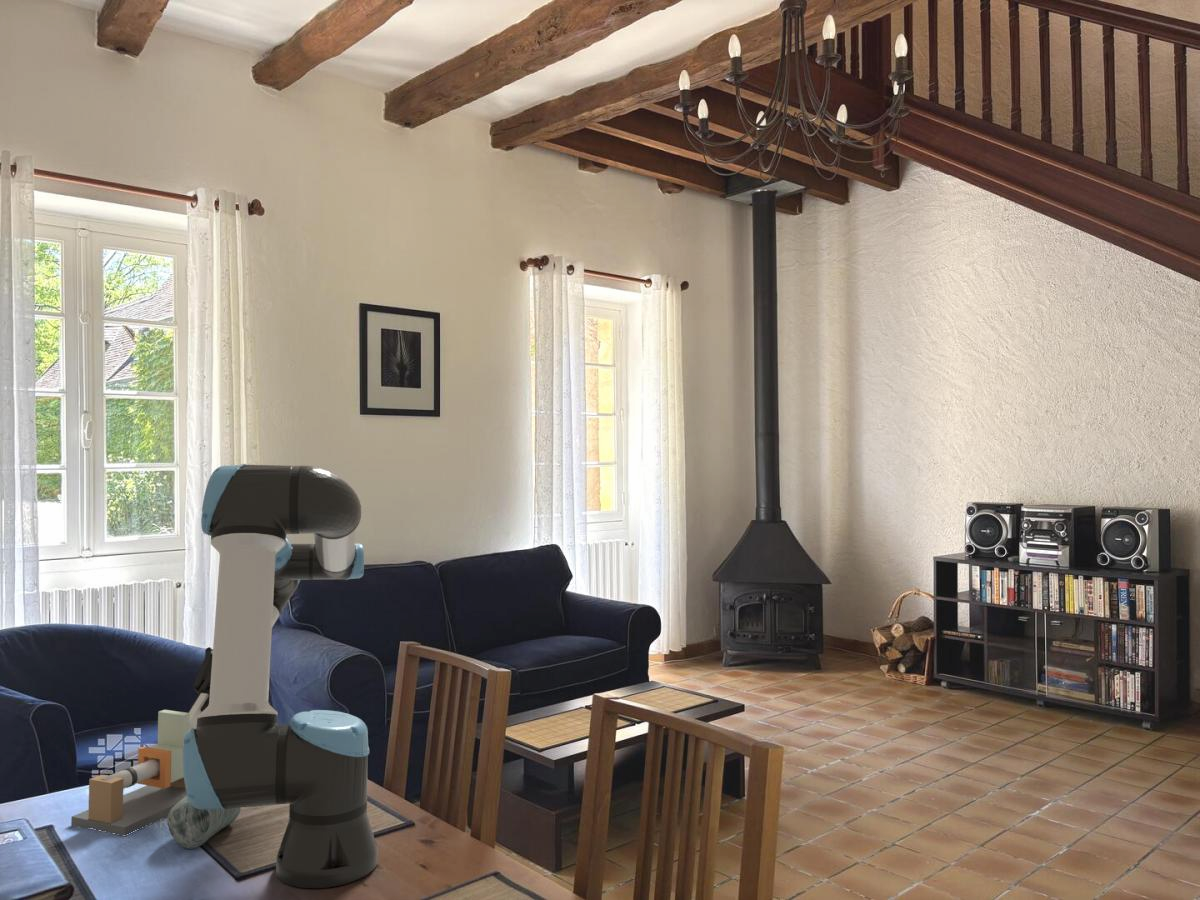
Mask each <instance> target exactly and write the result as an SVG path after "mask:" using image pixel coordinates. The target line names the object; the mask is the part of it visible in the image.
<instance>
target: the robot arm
mask: <svg viewBox="0 0 1200 900" xmlns="http://www.w3.org/2000/svg"><path fill="white" fill-rule="evenodd" d="M206 484H207V485H206V487H205V491H204V495H203V500H202V507H201V512H202V514H201V518H200V519H201V520H200V524H201V531H202V533H203V534H205V535H207V536H210V545H211V546H212V547H213V548H214V549H215V550H216V551H217V552H218V554H219V562H218V563H219V564H218V576H217V587H216V588H217V589H216V591H217V592H216V604H215V617H214V630H213V644H212V645H213V646H212V647H210V646H209V647H207V648H205V651H204V659H203V661H202V664H201V666H200V669H199V671H198V674H197V676H196V678H195V681H194V683H193V686H192V688H193V690H194V691H195V692H196V694H197V695H196V697H195V699H194V700H193V702H192V703H191V705H190V707H189V711H188V713H190V730H189V731H187V732H186V733H185V736H184V746H183V773H184V782H185V788H186V793H187V796H188V799H189V801H190V803H191V805H192V806H193V807H195V808H197V809H201V810H207V809H221V810H226V809H230V808H240V809H241V808H252V807H263V806H265V807H266V806H276V805H288V804H289V811H288V812H289V813H288V814H289V815H288V822H287V826H286V828H285V831H284V834H283V837H282V840H281V842H280V846H279V849H278V851H277V854H276V858H275V859H276V861H275V863H276V864H275V874H276V877H277V878H278V880H279V881H281V882H282V883H284V884H286V885H289V886H292V887H295V888H296V887H297V888H303V889H324V888H332V887H333V888H334V887H339V886H342V885H343V886H344V885H346V884H350V883H353V882H356V881H358V880H360V879H362V878H364V877H365V876H367V875H369V874H370V873H371V872H372V871H374V869H375V868H376V866H377V865H378V858H379V857H378V856H379V855H378V853H379V852H378V849H379V848H378V843H377V841H376V839H375V836H374V832H373V828H372V825H371V822H370V819H369V815H368V756H369V755H370V747H369V737H368V735H369V732H368V731H369V730H368V726H367V725H366V723H365V722H364V721H363V720H362V719H361V718H359V717H357V716H355V715H352V714H350V713H345V712H343V711H336V710H327V709H325V710H324V709H323V710H322V709H313V710H309V711H300V712H297V713H295V714H294V715H293V716H292V717H291V719H290V720H289V724H278V711H277V710H276V709H274V708H273V706H272V705H270V704H271V703H270V702H269V690H270V674H271V673H270V671H271V656H272V654H271V652H272V650H271V649H272V634H273V633H272V632H273V627H274V625H275V624H276V622H277V620H278V619H279V617H280V615H281V614H282V612H283V610H284V609H285V607H286V605H287V604H288V602H289V600H290V599H291V597H292V596H293V594H294V592H296V590H297V589H298V586H299V584H300V582H301V581H302V580H303V581H305V580H306V581H307V580H308V581H310V580H311V581H313V580H344V581H348V580H354V579H361V578H362V577H363V576H364V572H365V569H364V568H365V546H364V545H363V544H362V543H356V529H357V528H358V526H359V525H360V522H361V518H362V505H361V501H360V499H359V497H358V495H357V492H356V491H355V490H354V489H353V487H352V486H351V485H349V483H348V482H346V481H345V480H344V479H343V478H341V477H340V476H338V475H336V474H335V473H333V472H331V471H328V470H326V469H324V468H320V467H318V466H313V465H283V464H282V465H280V464H278V465H276V464H275V465H274V464H273V465H271V464H270V465H269V464H247V463H241V464H233V465H232V464H231V465H229V464H228V465H221V466H219V467H217V468H216V469H214V471H213V472H212V473H211V474H210V477H209V479H208V480H207V483H206ZM299 534H301V535H303V534H313V536H314V543H291V542H290V541H289V540H288V538H287V535H299Z"/></svg>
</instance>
